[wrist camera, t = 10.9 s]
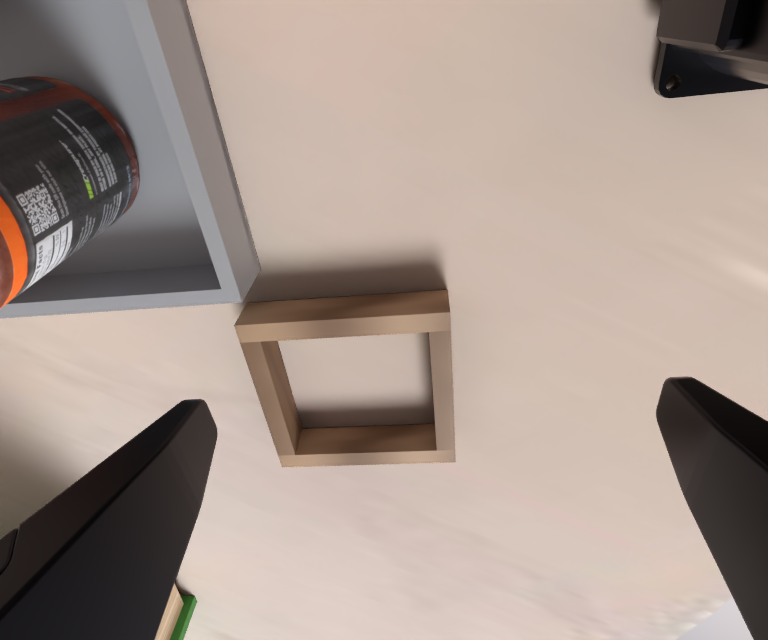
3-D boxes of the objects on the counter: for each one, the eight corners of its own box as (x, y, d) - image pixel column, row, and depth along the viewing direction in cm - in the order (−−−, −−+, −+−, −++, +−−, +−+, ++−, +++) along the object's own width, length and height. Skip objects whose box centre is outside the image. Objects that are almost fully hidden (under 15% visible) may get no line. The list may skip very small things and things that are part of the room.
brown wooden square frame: (447, 289, 23) (450, 312, 21) (453, 435, 28) (455, 462, 27) (246, 303, 24) (234, 325, 22) (289, 441, 29) (282, 467, 28)
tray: (169, -59, 16) (123, -70, 14) (261, 269, 23) (242, 302, 20) (-155, -10, 17) (-251, -12, 15) (23, 287, 24) (-22, 319, 22)
